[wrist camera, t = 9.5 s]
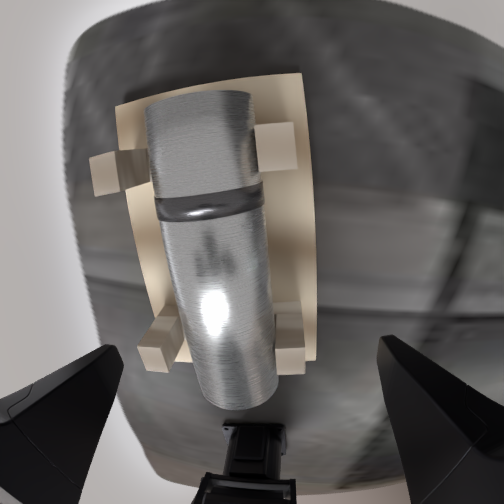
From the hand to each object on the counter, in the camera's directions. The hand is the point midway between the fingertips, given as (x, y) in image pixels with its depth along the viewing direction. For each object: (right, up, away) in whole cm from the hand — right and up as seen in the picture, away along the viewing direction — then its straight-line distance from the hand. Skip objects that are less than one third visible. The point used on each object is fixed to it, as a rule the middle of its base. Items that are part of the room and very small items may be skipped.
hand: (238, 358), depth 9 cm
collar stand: (-1, +4, +11) cm, 11 cm away
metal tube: (-2, +3, +8) cm, 9 cm away
